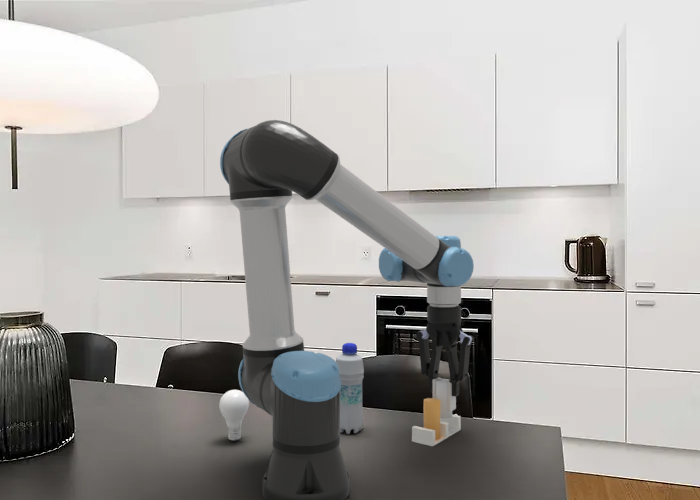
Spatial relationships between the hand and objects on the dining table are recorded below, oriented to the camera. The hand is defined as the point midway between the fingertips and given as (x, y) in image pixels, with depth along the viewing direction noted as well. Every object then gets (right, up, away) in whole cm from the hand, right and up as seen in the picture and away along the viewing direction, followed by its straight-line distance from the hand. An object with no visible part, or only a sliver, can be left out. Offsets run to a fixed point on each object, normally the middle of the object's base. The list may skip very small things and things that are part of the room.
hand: (444, 408), depth 136 cm
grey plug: (0, -2, 0) cm, 2 cm away
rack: (-2, -5, -2) cm, 6 cm away
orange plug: (-3, -5, -5) cm, 8 cm away
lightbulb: (-46, -6, -6) cm, 47 cm away
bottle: (-21, -6, +1) cm, 22 cm away
